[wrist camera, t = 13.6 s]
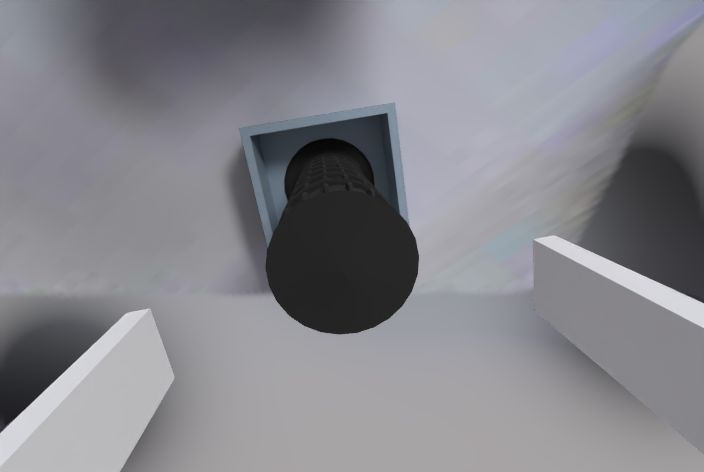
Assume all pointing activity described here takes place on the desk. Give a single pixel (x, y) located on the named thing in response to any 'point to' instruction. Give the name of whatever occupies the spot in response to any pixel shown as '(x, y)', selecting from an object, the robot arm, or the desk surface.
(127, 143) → the desk surface
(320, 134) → the box
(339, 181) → the handle grip
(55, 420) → the robot arm
